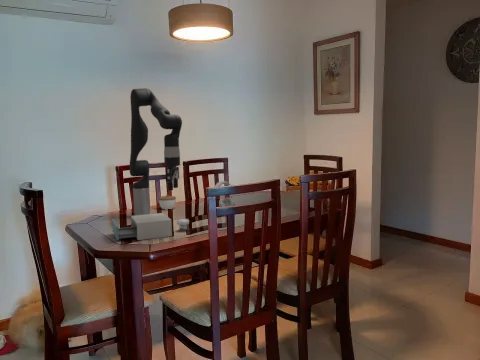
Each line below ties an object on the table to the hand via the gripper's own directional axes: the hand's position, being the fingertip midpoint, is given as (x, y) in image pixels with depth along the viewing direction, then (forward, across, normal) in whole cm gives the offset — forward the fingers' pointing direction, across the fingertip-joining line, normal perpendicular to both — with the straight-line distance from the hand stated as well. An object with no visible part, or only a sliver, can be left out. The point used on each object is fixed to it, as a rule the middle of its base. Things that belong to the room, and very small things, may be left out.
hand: (173, 189), depth 198 cm
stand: (+22, -3, +3) cm, 22 cm away
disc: (+18, -3, +3) cm, 19 cm away
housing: (+22, +5, -10) cm, 24 cm away
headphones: (+22, -43, +17) cm, 51 cm away
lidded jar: (+21, -57, -22) cm, 65 cm away
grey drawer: (+20, +10, -19) cm, 29 cm away
